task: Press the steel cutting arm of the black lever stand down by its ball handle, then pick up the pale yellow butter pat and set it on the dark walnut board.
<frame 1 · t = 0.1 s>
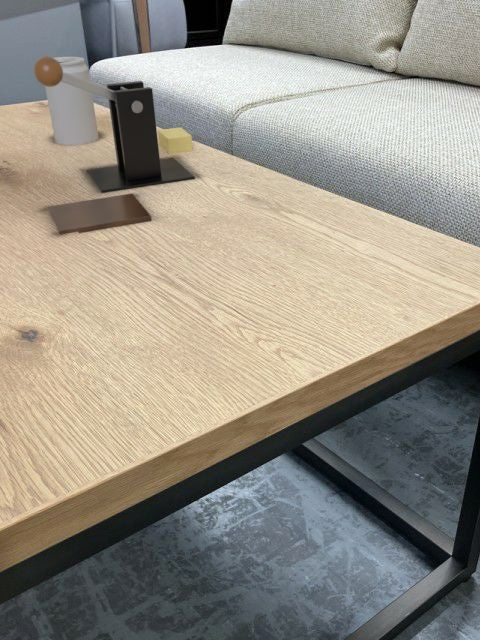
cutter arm: (90, 87, 83), point 12 cm above the table, hinge at 25.0°
butter: (176, 153, 102), on the table
beverage can: (78, 146, 106), on the table
black lever stand: (140, 182, 91), on the table
board: (99, 223, 79), on the table
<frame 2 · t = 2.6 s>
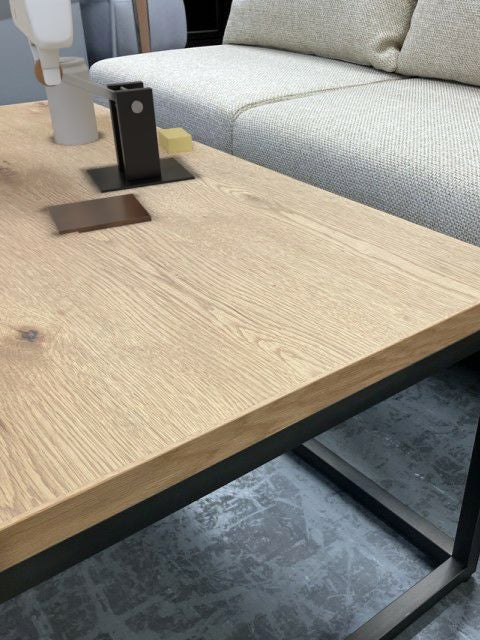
hand: (49, 80, 81), 13 cm above the table, tool pointing down, fingers closed on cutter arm, 3 cm apart
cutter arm: (90, 87, 83), point 12 cm above the table, hinge at 25.0°, touching gripper
everything else where it was.
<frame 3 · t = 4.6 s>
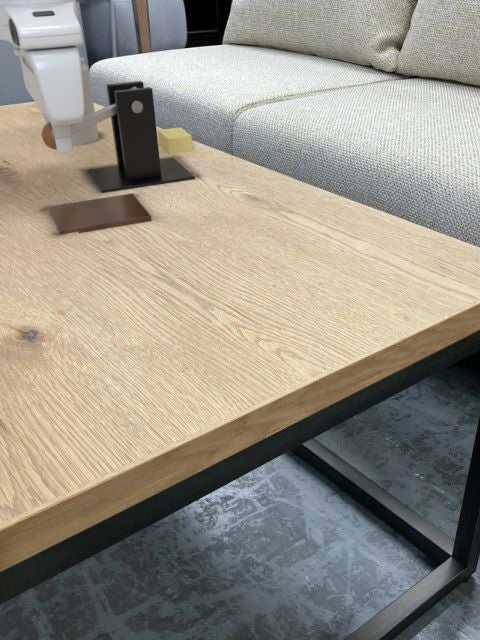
hand: (61, 146, 85), 6 cm above the table, tool pointing down, fingers closed on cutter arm, 3 cm apart
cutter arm: (92, 118, 85), point 9 cm above the table, hinge at -16.8°, touching gripper
everything else where it was.
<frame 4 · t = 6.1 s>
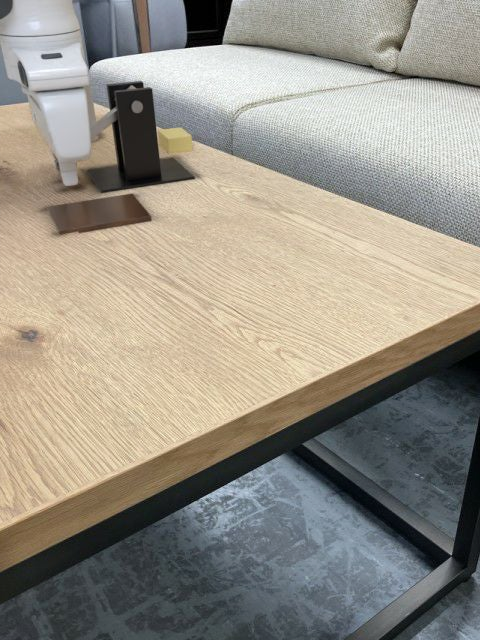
hand: (67, 178, 87), 2 cm above the table, tool pointing down, fingers open, 3 cm apart
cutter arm: (98, 127, 86), point 7 cm above the table, hinge at -29.7°
everything else where it was.
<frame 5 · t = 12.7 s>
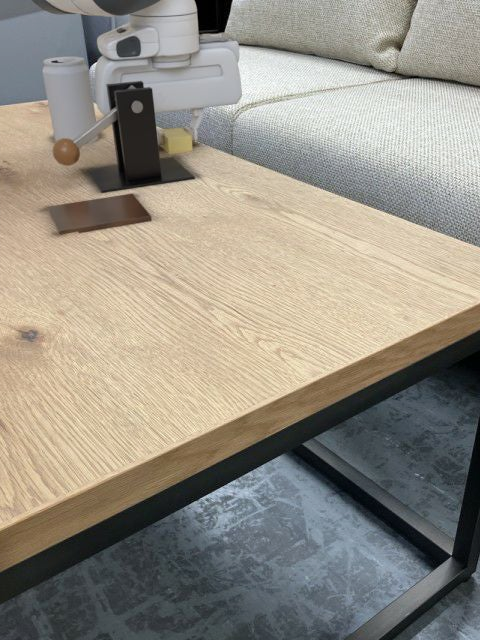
hand: (175, 142, 101), 2 cm above the table, tool pointing down, fingers closed on butter, 3 cm apart
butter: (176, 153, 102), on the table, touching gripper
everything else where it was.
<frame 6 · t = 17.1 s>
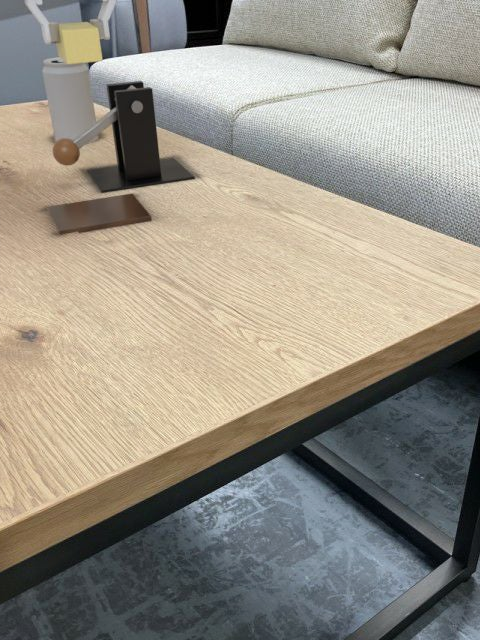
hand: (77, 41, 70), 19 cm above the table, tool pointing down, fingers closed on butter, 3 cm apart
butter: (80, 58, 71), point 17 cm above the table, touching gripper
everything else where it was.
when the fingers open (3 cm above the table, at t = 21.6 s): butter stays where it is, resting on board.
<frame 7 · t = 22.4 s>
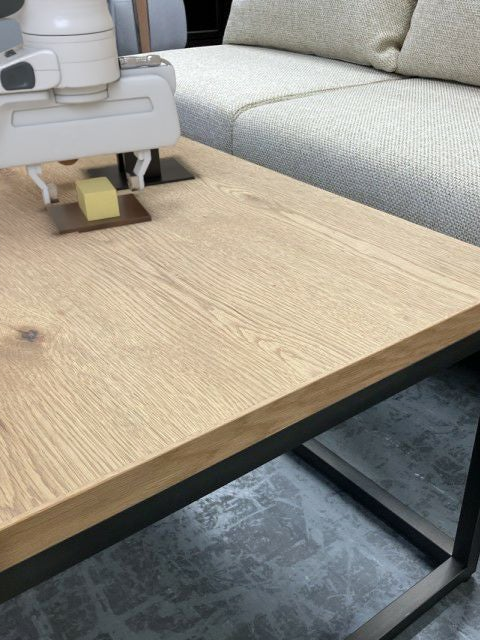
hand: (95, 195, 78), 3 cm above the table, tool pointing down, fingers open, 8 cm apart
butter: (99, 211, 79), point 1 cm above the table, touching board
everything else where it was.
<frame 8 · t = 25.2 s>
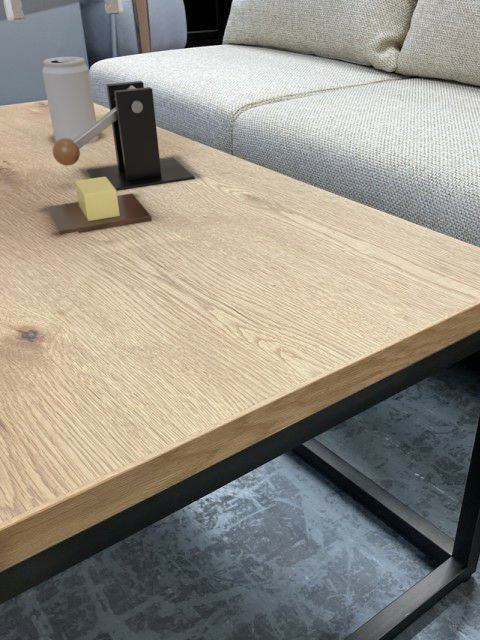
hand: (66, 16, 68), 21 cm above the table, tool pointing down, fingers open, 8 cm apart
nothing on the table moved.
at the end: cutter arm at -30° (first picture: +25°); butter inside the target area on the board (0.2 cm from its centre), point 1.5 cm above the board's base; the gripper is holding nothing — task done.
